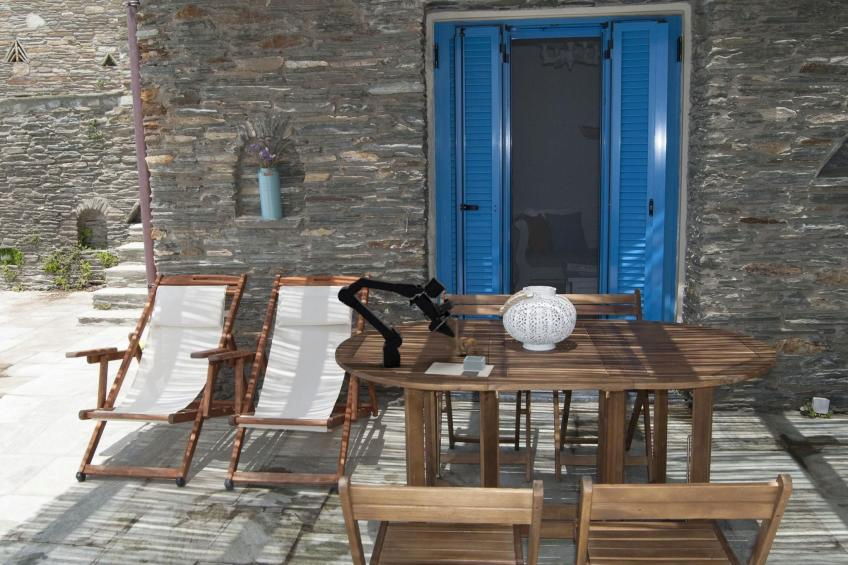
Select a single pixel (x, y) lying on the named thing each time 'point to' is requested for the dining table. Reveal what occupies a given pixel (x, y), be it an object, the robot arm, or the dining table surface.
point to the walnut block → (451, 342)
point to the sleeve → (474, 363)
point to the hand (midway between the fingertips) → (455, 335)
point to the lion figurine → (467, 345)
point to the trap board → (457, 370)
